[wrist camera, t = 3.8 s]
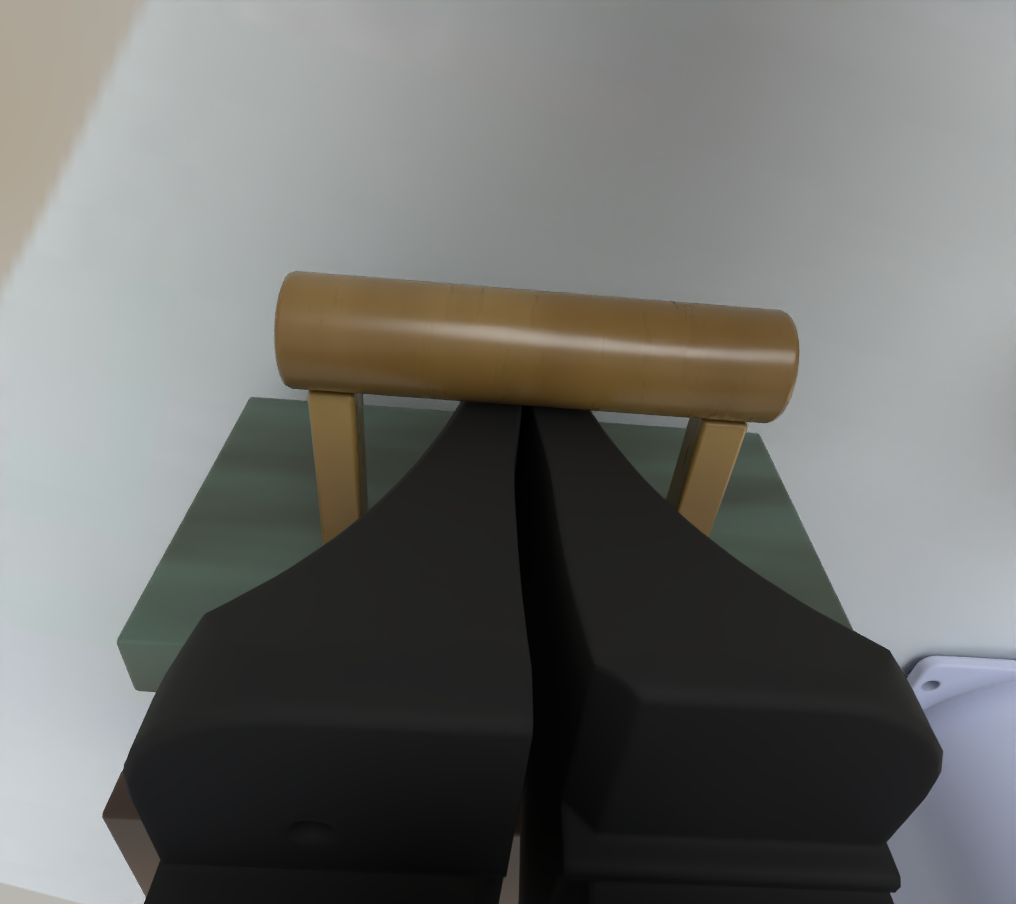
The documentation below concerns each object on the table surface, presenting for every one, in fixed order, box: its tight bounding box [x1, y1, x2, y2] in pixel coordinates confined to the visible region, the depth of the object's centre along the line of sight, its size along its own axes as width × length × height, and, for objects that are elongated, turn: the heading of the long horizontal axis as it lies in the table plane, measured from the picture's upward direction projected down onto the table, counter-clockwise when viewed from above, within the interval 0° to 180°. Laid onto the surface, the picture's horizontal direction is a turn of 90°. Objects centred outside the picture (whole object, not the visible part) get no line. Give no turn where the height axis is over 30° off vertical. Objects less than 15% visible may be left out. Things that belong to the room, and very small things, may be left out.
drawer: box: [117, 271, 853, 692], centre depth 15 cm, size 17×11×6 cm, turn 175°
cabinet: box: [102, 759, 521, 904], centre depth 18 cm, size 14×12×8 cm
